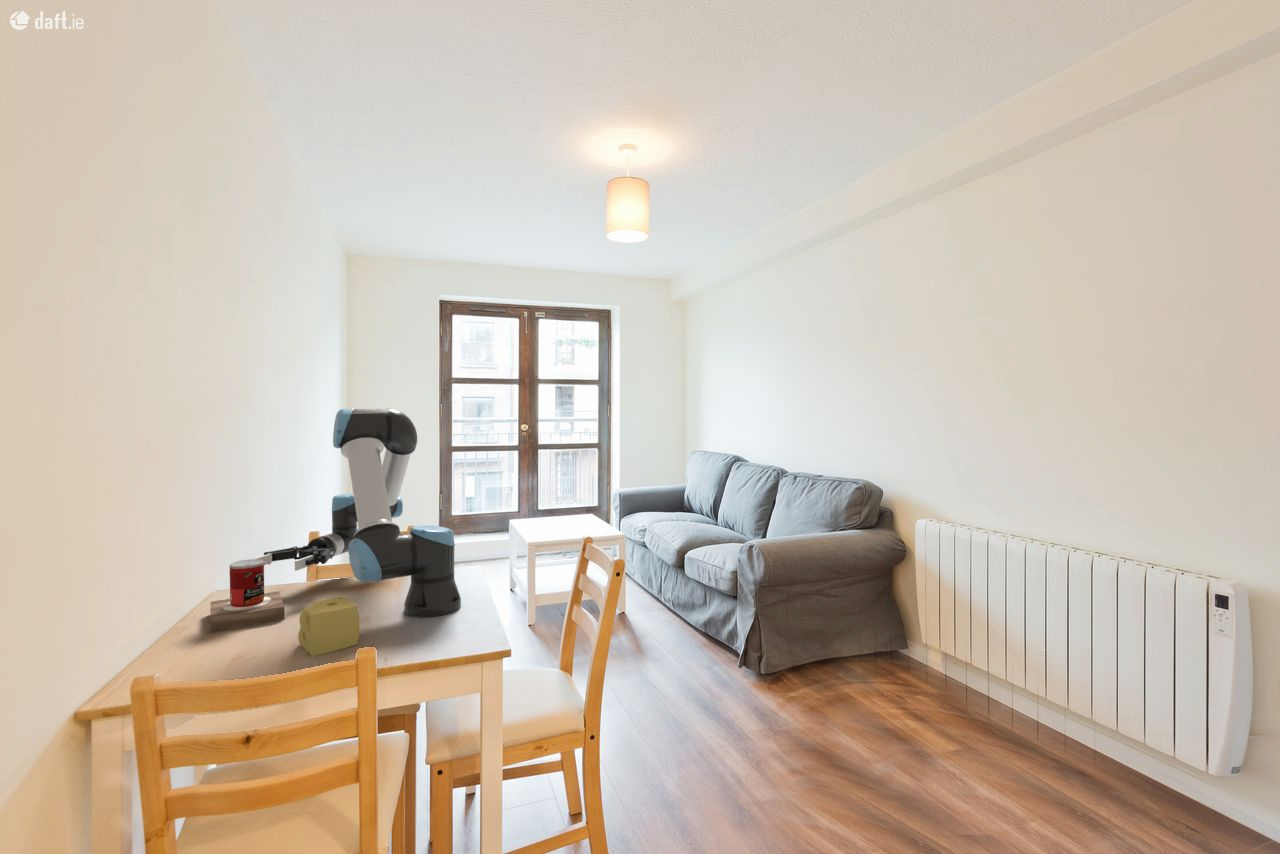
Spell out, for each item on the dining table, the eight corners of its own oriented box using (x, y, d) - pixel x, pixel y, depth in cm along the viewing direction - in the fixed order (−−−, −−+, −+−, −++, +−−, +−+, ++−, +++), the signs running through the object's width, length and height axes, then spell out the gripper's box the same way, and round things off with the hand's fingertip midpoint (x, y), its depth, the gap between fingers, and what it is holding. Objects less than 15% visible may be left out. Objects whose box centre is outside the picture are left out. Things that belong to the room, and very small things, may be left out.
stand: (284, 619, 156) (284, 605, 156) (210, 632, 146) (210, 617, 146) (279, 603, 169) (278, 590, 169) (210, 614, 159) (210, 600, 159)
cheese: (298, 645, 139) (297, 603, 139) (346, 633, 147) (345, 594, 146) (310, 658, 132) (310, 615, 131) (360, 645, 139) (360, 604, 139)
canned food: (247, 608, 153) (247, 567, 153) (222, 606, 155) (221, 565, 154) (271, 599, 161) (271, 559, 160) (247, 597, 162) (246, 558, 162)
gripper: (360, 560, 186) (314, 579, 165) (290, 557, 190) (236, 575, 169) (360, 537, 186) (313, 553, 165) (290, 534, 190) (235, 550, 169)
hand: (274, 564), depth 167 cm, fingers open, 13 cm apart
